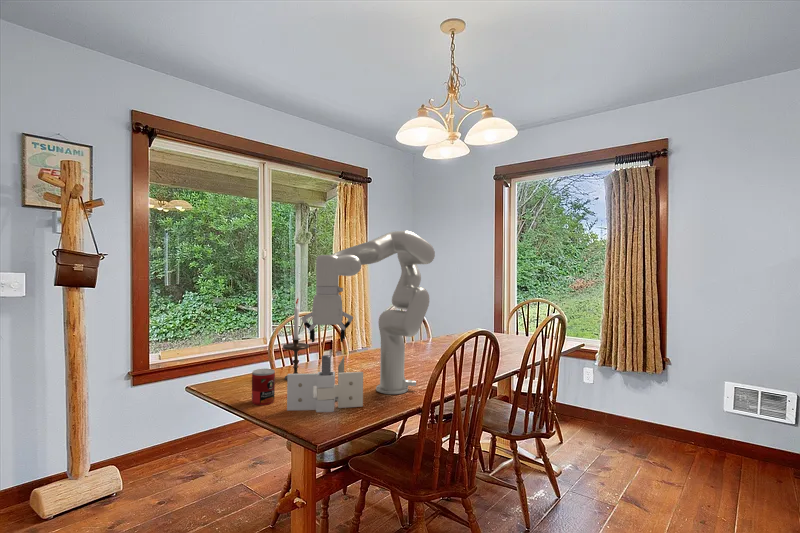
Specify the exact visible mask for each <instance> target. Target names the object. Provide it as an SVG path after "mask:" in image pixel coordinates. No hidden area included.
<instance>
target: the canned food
mask: <svg viewBox="0 0 800 533" xmlns="http://www.w3.org/2000/svg"><path fill="white" fill-rule="evenodd" d="M275 373H276V372H275V369H273V368H257V369H254V370H252V372H251V402H252V404H253V405H255V406H268V405H271V404H273V403H274V402H275V391H276V390H275V384H276V383H275V382H276V381H275V380H276V379H275V378H276V374H275Z"/></svg>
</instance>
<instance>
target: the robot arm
mask: <svg viewBox="0 0 800 533" xmlns="http://www.w3.org/2000/svg"><path fill="white" fill-rule="evenodd" d="M435 253H436V252H435V248H434V247H433V245H432V244H431V243H429V242H428V241H427V240H425V239H424V238H422V237H421V236H419V235H417V234H416V233H415V232H412V231H409V230H398V231H390V232H387V233H384V234H381V235H380V236H378V237H376V238H373V239H372V240H368V241H366V242H362V243H359V244H357V245H354V246H350V247H347V248H344V249H341V250H339V251H337V252H335V253H333V254H321V255H318V256H317V257H316V262H315V263H316V264H315V268H316V269H315V270H316V271H315V273H316V274H315V275H316V278H315V282H316V283H315V284H316V287H315V289H316V290H315V292H316V293H315V294H314V296H313V302H312V311H311V312H309V313H306V315H303V316H302V317H301V320H302V322H303V324H304V326H305V327H306V328H307V329H308V331H309V340H310V341H311V343H315V341H316V340H315V338H316V331H315V327H316V326H332V325H333V326H334V325H335V326H337V325H338V326H339V327H340V342H341V343H343V342H344V340H345V339H346V329H348V327H349V326H350V325H351V324H352V321H353V319H354V316H353V315H351V314H349V313H347V312H345V311H343V310H344V309H343V299H342V298H343V297H342V295H341V294H340V293H341V292H344V288H343V287H340V286H339V283H340V282H339V281H340V280H339V279H340V278H339V276H342V277H352V276H356V275H357V274H358V273H359V272H360V271H361V269H362V266H364V265H371V264H376V263H379V262H381V261H383V260H385V259H387V258H389V257H392V256H393V255H395V254H397V255H396V256H397V259H398V261H399V264H400V269H401V271H400V272H401V273H400V276H399V279H398V282H397V284H396V287H395V290H394V292H393V294H392V296H391V303H392V306H393V307H394V308H396V309H386V310H385V311H383V312H382V313H381V314H380V315H379V318H378V322H377V323H378V329H379V336H380V337H379V338H380V365H379V366H380V367H379V368H380V372H379V374H380V375H379V378H380V379H379V384H378V385H376V387H375V389H376V390H375V391H376V392H378V393H381V394H385V395H401V394H405V393H406V392H408V391H409V386H412V387H416V386H417V380H413V379H406V377H405V355H406V347H405V346H406V345H405V341H404V337H407V338H409V337H414V336H416V335H417V333H418V332H419V330H420V329H421V326H422V324H423V321H424V320H425V317H426V314H427V311H428V309H429V306H430V293H429V292H428V290H426V288H424V287H420V285H421V281H422V275H421V272H420V269H419V266H418V265H429V264H430V263H433V261H434V259H435V257H436V255H435ZM399 309H400V310H399ZM310 318H311V321H312V323H311V324H310V323H309V322H308V319H310ZM343 318H346V319H347V321H346V322H345V323H344V322H343Z"/></svg>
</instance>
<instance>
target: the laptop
mask: <svg viewBox="0 0 800 533" xmlns="http://www.w3.org/2000/svg"><path fill="white" fill-rule="evenodd" d="M337 368H338V369H337V374H338V373H345V355H343V357H342V358H341V360H340V362H339V364H338V367H337ZM313 397H317V388H316V386H313ZM335 402H338V397H335Z"/></svg>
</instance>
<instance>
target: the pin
mask: <svg viewBox="0 0 800 533" xmlns="http://www.w3.org/2000/svg"><path fill="white" fill-rule="evenodd" d="M331 358H332V355H328V354H327V355H325V354H323V355H322V356H321V372H322V376H328V375H331V372H332V370H331V367H332V366H331V365H332V361H331V360H332V359H331ZM329 400H330V399H329Z"/></svg>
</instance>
